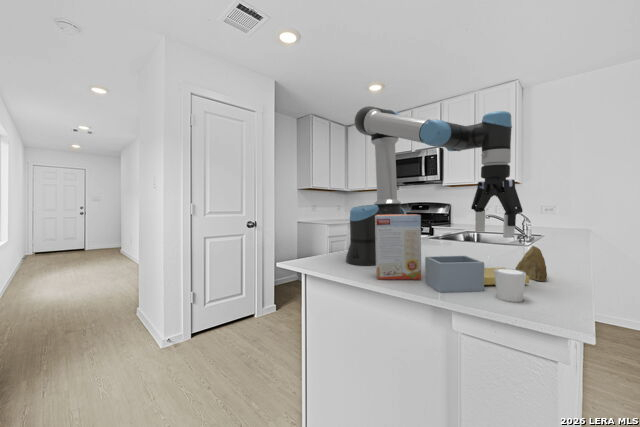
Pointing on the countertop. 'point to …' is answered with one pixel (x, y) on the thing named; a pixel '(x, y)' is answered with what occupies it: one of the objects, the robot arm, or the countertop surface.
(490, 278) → the lid
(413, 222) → the cracker box
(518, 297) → the white cup
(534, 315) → the countertop surface
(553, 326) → the countertop surface
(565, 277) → the countertop surface
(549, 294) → the countertop surface
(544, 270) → the rock
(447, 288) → the tub
